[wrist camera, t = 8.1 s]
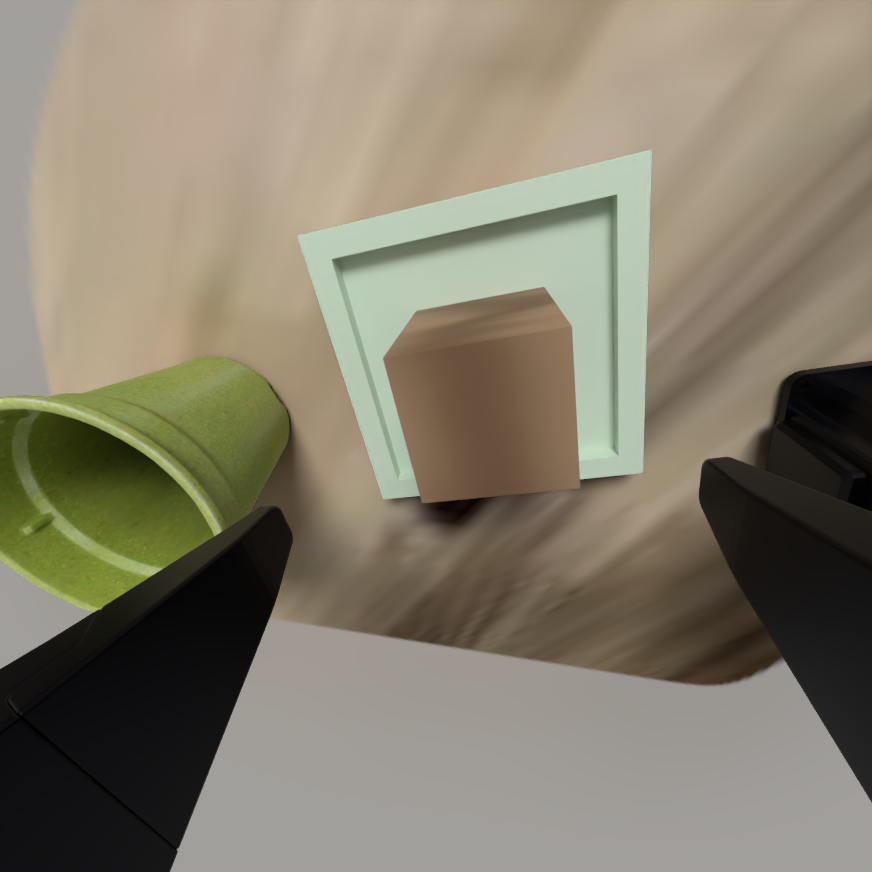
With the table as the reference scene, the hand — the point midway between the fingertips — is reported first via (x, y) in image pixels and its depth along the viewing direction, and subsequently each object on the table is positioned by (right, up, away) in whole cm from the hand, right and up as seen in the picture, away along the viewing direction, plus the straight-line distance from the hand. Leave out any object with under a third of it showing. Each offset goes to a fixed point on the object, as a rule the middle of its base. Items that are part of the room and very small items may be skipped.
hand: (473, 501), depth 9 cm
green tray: (+1, +5, +9) cm, 10 cm away
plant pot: (-11, +3, +12) cm, 17 cm away
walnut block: (+1, +5, +8) cm, 10 cm away
